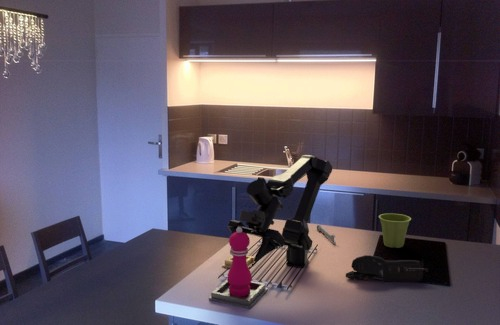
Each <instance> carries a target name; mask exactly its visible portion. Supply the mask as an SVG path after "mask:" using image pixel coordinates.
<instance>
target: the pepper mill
mask: <svg viewBox="0 0 500 325" xmlns="http://www.w3.org/2000/svg"><path fill="white" fill-rule="evenodd" d="M250 242H251V241H250V237H249V234H246V233H244V232H242V228H241V227H238V228H237V229H236V232H235V233H233V234H232V233H231V235H229V238H228V244H229V246H230V250H231V254H232V255H231V254H230V255H231V256H233V262H232V265H231V268H229V270H228V273H227V278H226V280H228V283H229V284H230V286H229V293H230V294H231V295H233V296H238V297H243V296H247V295H249V293H250V286H249V284H250V283H251V281H253V277H252V276H253V275H252V273H251V270H250V268H248V266H247V262H246V256H248V254H249V248H248V247H249V246H250ZM231 247H232V248H231Z"/></svg>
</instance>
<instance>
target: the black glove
mask: <svg viewBox="0 0 500 325" xmlns="http://www.w3.org/2000/svg"><path fill="white" fill-rule="evenodd" d="M350 266H351V268H352V270H351V271H350V272H349V271H348V272H345V278H347V279H349V280H352V281H354V280H359V281H362V280H373V279H378V280H379V281H380V280H381V281H383V282H399V283H401V282H402V283H403V282H404V283H407V282H413V283H414V282H415V283H416V282H417V283H418V282H420V281H421V280H422V271H425V272H427V273H428V272H429V268H427V267H424V268H423V267H422V268H421V260H415V259H414V260H413V259H412V260H411V259H403V260H402V259H397V260H385V259H384V258H383V257H382V256H376V255H367V254H366V255H363V256H362V255H361V256H358V257H355V258H354V259H353V260H352V263H351V265H350Z"/></svg>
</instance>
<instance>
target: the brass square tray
mask: <svg viewBox="0 0 500 325" xmlns="http://www.w3.org/2000/svg"><path fill="white" fill-rule="evenodd" d="M254 259H255V256H251V255H246V262H247V266H248V268H249V267H250V266H251V265H252V264H253V263H255V261H254ZM232 262H233V256H232V255H231V256H230V257H228V259H227V258H226V259H225V260H224V263H223V264H222V265H221V266H222V268H226V269H230V268H231V265H232ZM255 264H256V263H255ZM251 267H252V266H251ZM251 267H250V268H251ZM250 268H249V269H250Z"/></svg>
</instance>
